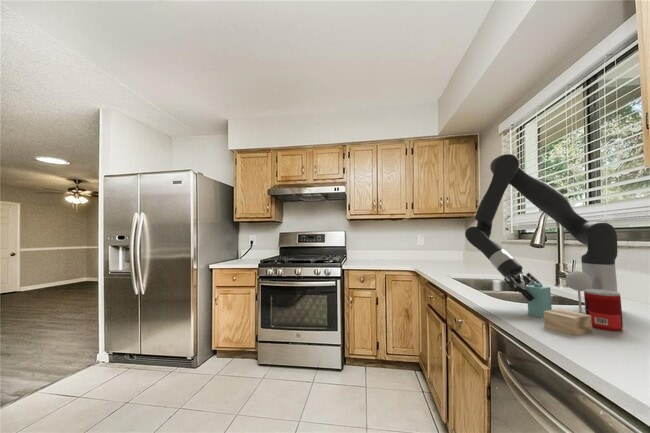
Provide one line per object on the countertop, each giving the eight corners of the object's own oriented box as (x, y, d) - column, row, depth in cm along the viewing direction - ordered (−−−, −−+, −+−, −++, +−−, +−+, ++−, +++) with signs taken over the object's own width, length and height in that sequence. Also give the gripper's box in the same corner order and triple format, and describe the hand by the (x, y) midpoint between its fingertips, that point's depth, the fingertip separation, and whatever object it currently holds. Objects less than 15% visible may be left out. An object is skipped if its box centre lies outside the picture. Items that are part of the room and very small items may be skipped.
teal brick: (536, 312, 100) (534, 282, 101) (552, 315, 96) (550, 284, 96) (528, 313, 98) (526, 283, 99) (544, 317, 94) (542, 285, 94)
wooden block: (561, 324, 87) (559, 308, 88) (592, 332, 80) (591, 315, 80) (544, 327, 85) (543, 311, 85) (575, 336, 77) (574, 318, 77)
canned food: (631, 332, 79) (627, 294, 80) (598, 330, 81) (595, 293, 81) (609, 323, 87) (606, 289, 87) (580, 322, 88) (577, 288, 89)
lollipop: (575, 309, 103) (572, 269, 104) (599, 314, 97) (595, 272, 98) (563, 310, 101) (560, 270, 102) (586, 316, 94) (583, 273, 95)
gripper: (500, 258, 103) (535, 294, 92) (522, 256, 109) (558, 290, 98) (487, 270, 108) (519, 306, 96) (509, 268, 114) (542, 302, 102)
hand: (539, 298), depth 97 cm, fingers open, 8 cm apart
